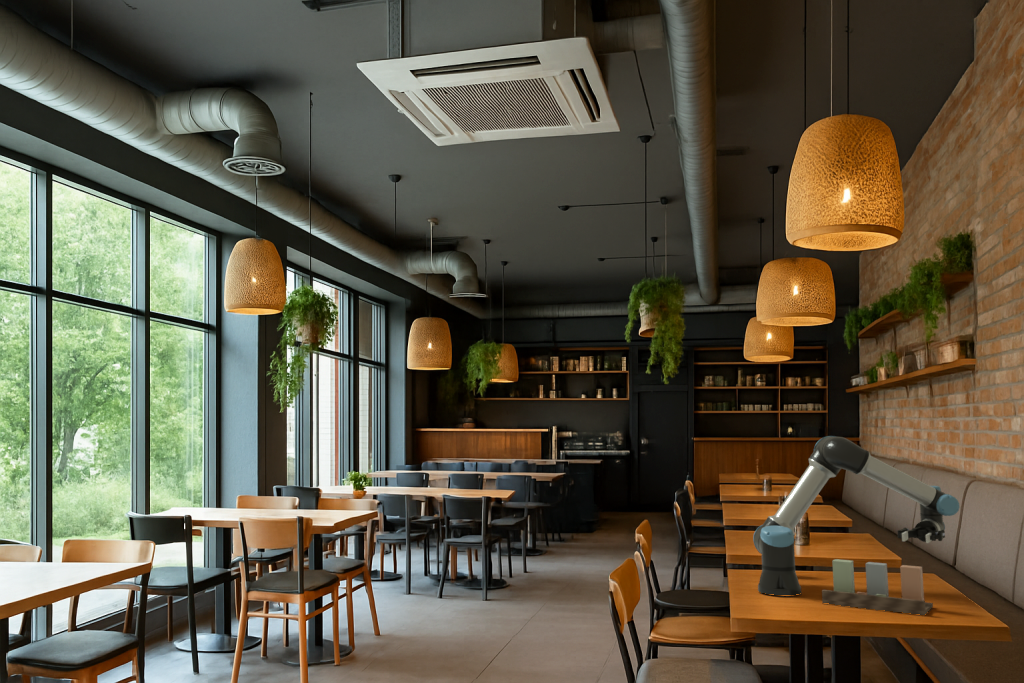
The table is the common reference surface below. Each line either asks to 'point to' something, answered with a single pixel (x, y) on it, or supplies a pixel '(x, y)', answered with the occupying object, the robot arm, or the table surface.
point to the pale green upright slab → (843, 575)
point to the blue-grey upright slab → (877, 578)
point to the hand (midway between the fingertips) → (914, 538)
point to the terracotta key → (912, 582)
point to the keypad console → (876, 602)
